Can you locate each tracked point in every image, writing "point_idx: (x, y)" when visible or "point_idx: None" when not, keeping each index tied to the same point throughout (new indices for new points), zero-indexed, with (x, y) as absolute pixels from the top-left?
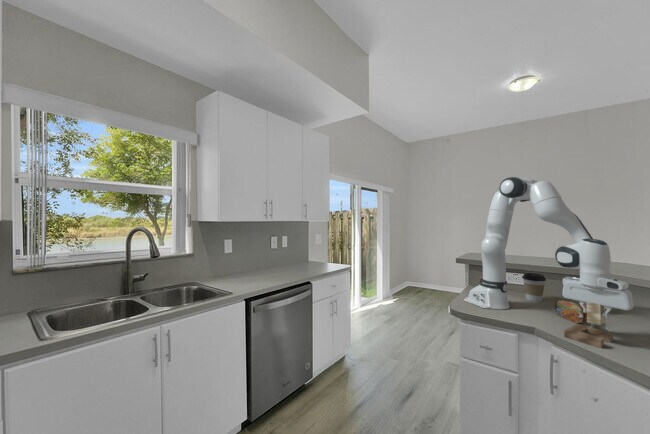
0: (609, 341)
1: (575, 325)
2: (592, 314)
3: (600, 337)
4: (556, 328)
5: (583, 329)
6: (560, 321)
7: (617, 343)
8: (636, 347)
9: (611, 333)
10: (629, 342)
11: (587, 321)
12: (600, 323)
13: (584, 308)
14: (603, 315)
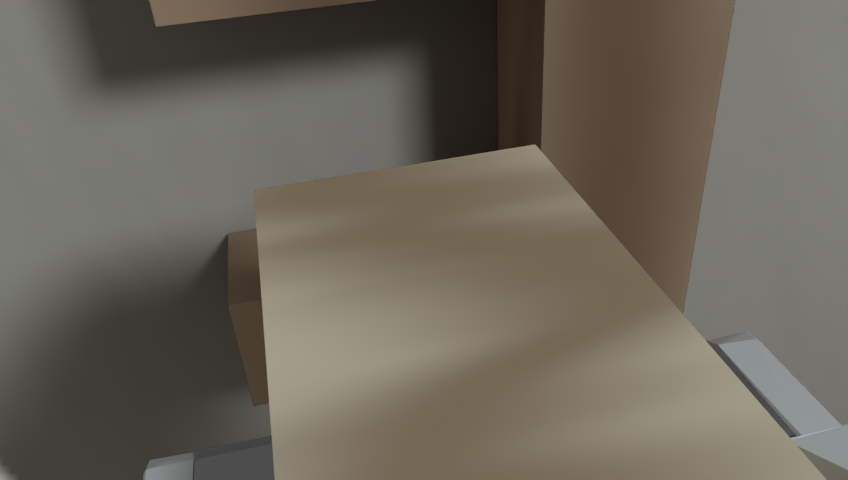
0: (235, 239)
1: (684, 225)
2: (498, 319)
3: (209, 9)
4: (838, 77)
5: (551, 158)
6: (832, 362)
7: (174, 291)
8: (3, 372)
9: (255, 377)
10: (146, 444)
11: (530, 153)
12: (257, 221)
13: (813, 436)
14: (229, 478)
